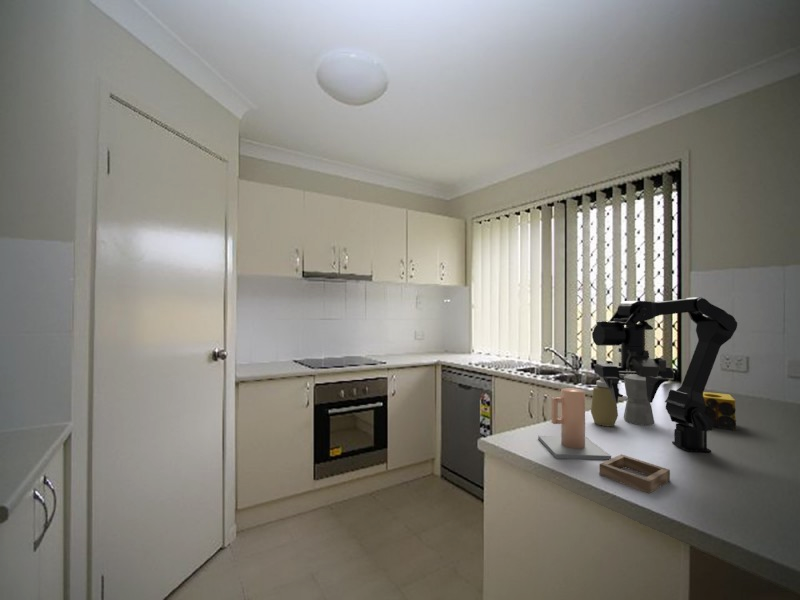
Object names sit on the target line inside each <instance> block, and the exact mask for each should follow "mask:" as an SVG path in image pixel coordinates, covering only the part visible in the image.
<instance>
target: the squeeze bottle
mask: <svg viewBox="0 0 800 600" xmlns="http://www.w3.org/2000/svg"><path fill="white" fill-rule="evenodd" d="M595 384H596V386H594V387H593V388H592V397H591V407H590V413H591V416H592V420H593V422H594V424H596V425H599V426H601V425H602V426H603V427H614V426H615V424H616V422H617V419H618V417H619V412H618V404H617V403H618V402H615V401H614V399H613V397H612V395H611V392H610V390H609V388H608V386H607V384H606V382H605V381H604V379H603V378H602V377H600V376H599V379H598V380H596V383H595Z"/></svg>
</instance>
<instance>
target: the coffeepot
mask: <svg viewBox="0 0 800 600" xmlns="http://www.w3.org/2000/svg"><path fill="white" fill-rule="evenodd" d="M617 378H620V380H621V381H624V388H625V395H626V396H627V400H626V403H625V407H624V413H623V419H624V421H625V422H628V423H630V424H632V425H639V426H652V425H655V424H656V423H655V418H654V413H653V407H652V404H651V403H650V402H648V398H647V389H646V377H641V376H639V375H638V374H619V375H618V376H617ZM620 380H619V381H620ZM623 397H624V394H621V393H620V389H619V387H618V398H623Z"/></svg>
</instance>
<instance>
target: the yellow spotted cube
mask: <svg viewBox="0 0 800 600" xmlns="http://www.w3.org/2000/svg"><path fill="white" fill-rule="evenodd" d="M703 397H704V400H705V404H706V407H705V412H704V413H705V414H706V415H707V416H708V417H709V418H710V419H711V420H712V421H713V422H714V426H713V429H714V428H715V429H721V430H726V431H727V430H728V431H737V420H736V419H737V418H736V410H737V409H736V399H734V397H732V395H731V394H728V393H718V392H709V391H708V392H707V391H704V392H703Z"/></svg>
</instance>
